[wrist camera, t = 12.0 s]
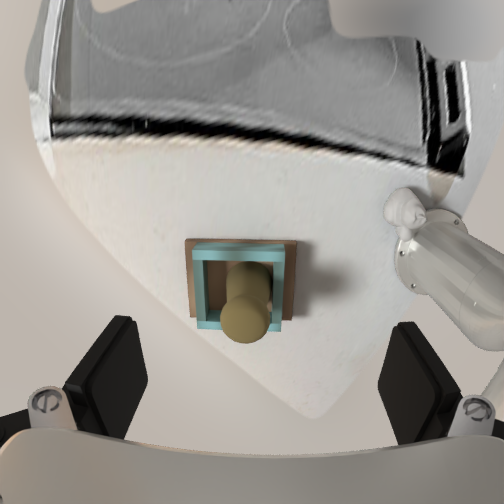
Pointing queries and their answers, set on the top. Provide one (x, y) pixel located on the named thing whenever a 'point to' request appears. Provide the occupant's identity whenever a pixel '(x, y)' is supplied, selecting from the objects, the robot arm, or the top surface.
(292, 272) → the board
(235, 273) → the cork
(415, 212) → the rubber duck
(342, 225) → the top surface
